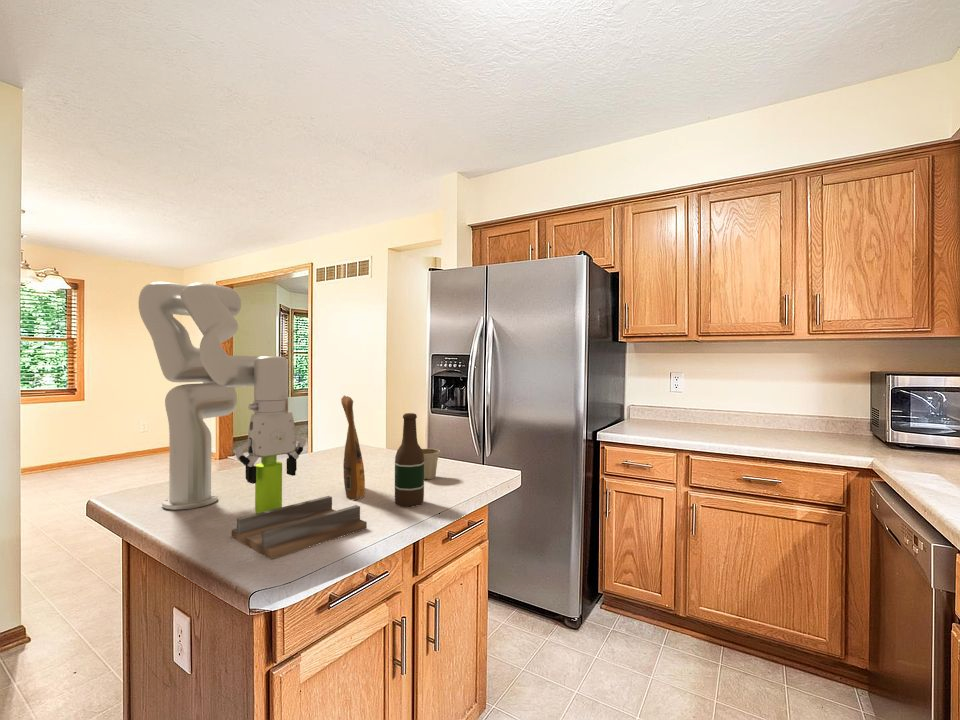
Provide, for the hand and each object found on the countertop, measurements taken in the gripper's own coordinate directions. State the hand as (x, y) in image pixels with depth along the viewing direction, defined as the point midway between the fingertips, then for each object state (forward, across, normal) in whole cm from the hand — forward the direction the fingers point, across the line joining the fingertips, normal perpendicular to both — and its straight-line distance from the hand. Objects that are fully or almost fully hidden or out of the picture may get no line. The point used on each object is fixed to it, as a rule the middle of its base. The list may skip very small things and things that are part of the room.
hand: (272, 478), depth 113 cm
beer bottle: (+10, +30, -15) cm, 35 cm away
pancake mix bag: (+10, +26, +5) cm, 28 cm away
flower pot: (+10, +52, +2) cm, 53 cm away
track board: (+10, 0, -13) cm, 17 cm away
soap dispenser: (+10, 0, +1) cm, 10 cm away
